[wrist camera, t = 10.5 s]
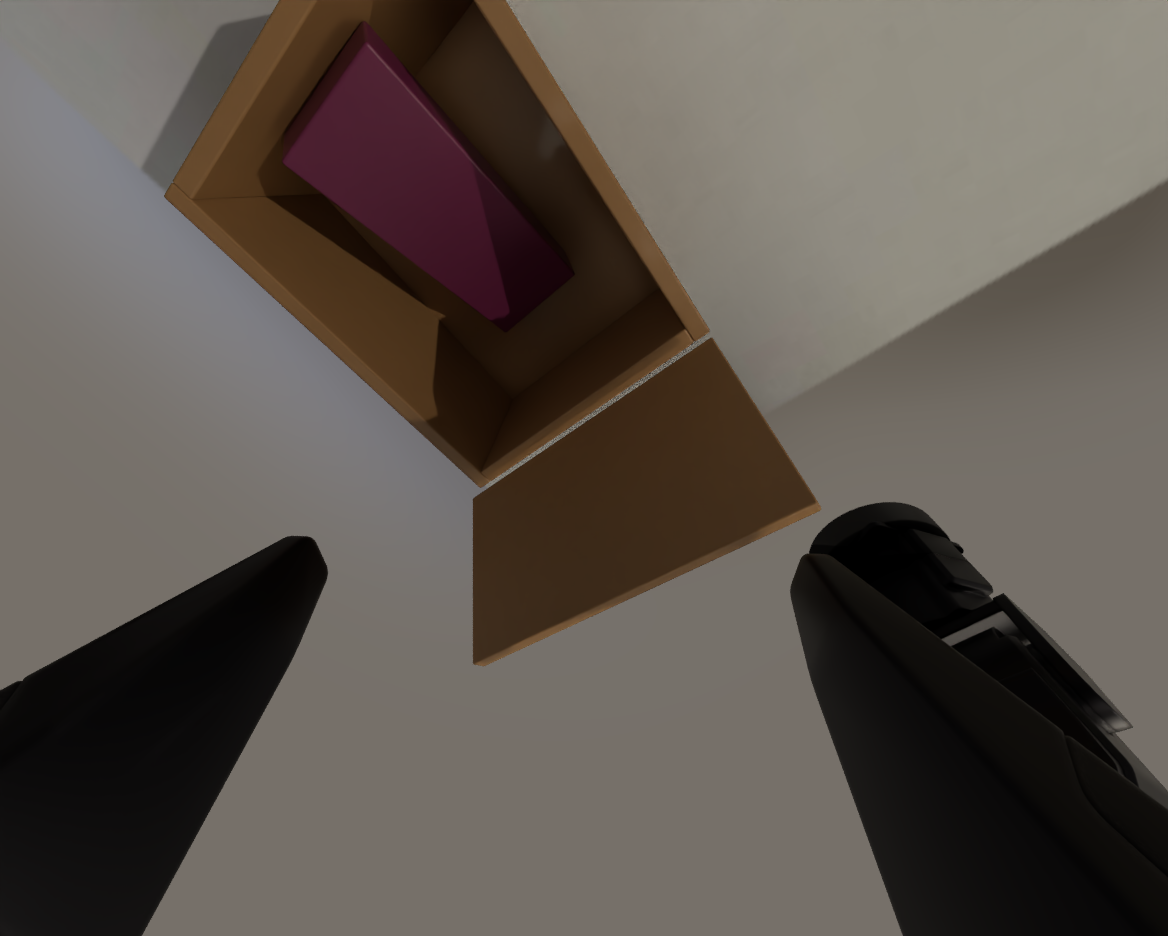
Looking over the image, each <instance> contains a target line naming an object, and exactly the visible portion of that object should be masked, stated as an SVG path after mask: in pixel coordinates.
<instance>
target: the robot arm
mask: <svg viewBox="0 0 1168 936" xmlns="http://www.w3.org/2000/svg"><path fill="white" fill-rule="evenodd" d="M875 529H876V530H875ZM963 552H964V550H963V548H962V547H961V546H960V545H959V544H957V543H955V542H952V541H949V540H948V539H947V538H944V537H941V536H937V535H933V534H930V533H926V532H922V531H919V530H915V529H904V528H900V527H897V526H893V525H890V524H886V523H882V522H879V521H874V522H871V523H869V524H867V525H866V526H865V527H864V529H863V530H862V531H861V532H860V533H859V534H858V536H857V537H856V538H855V539H854V540H853V541H852V542H851V544H850V545H849V546H848V547H847V548H846V549H845V551H844V552H843V553H842V554H841V555H840V556H839V558H838V559H837V560H836V559H834V558H833V557H831V556H829V555H826V554H805V555H804V556H802V558H801V560H800V562H799V565H798V567H797V570H796V573H795V576H794V578H793V581H792V584H791V589H790V593H791V600H792V604H793V609H794V612H795V617H796V621H797V625H798V629H799V633H800V637H801V642H802V646H803V650H804V654H805V658H806V662H807V666H808V670H809V673H810V677H811V681H812V684H813V687H814V690H815V693H816V696H817V699H818V701H819V704H820V707H821V710H822V713H823V715H824V718H825V721H826V724H827V726H828V729H829V732H830V735H831V738H832V740H833V743H834V746H835V749H836V751H837V754H838V757H839V760H840V762H841V765H842V768H843V770H844V774H845V776H846V779H847V782H848V785H849V787H850V790H851V793H852V796H853V799H854V801H855V804H856V807H857V810H858V812H859V815H860V818H861V821H862V823H863V826H864V829H865V832H866V834H867V837H868V840H869V843H870V846H871V848H872V851H873V854H874V857H875V860H876V862H877V865H878V868H879V871H880V873H881V876H882V879H883V882H884V884H885V887H886V890H887V893H888V896H889V898H890V901H891V904H892V907H893V910H894V912H895V915H896V918H897V921H898V923H899V926H900V929H901V932H902V934H903V936H1168V792H1167V790H1166V789H1165V788H1164V786H1163V785H1162V784H1161V783H1160V782H1159V781H1158V780H1157V779H1156V778H1155V777H1154V775H1153V774H1152V773H1151V772H1150V771H1149V770H1148V769H1147V768H1146V767H1145V766H1144V764H1143V763H1142V762H1141V761H1140V760H1139V759H1138V758H1137V757H1136V756H1135V755H1134V754H1133V752H1132V751H1131V750H1130V749H1129V748H1128V747H1127V746H1126V745H1125V743H1124V742H1123V741H1122V740H1121V739H1120V738H1119V737H1118V736H1117V735H1116V734H1115V733H1116V732H1120V731H1123V730H1127V729H1130V728H1133V726H1132V725H1131V724H1130V723H1129V721H1128V720H1127V719H1126V718H1125V717H1124V716H1123V715H1122V713H1121V712H1120V711H1119V710H1118V709H1117V708H1116V707H1115V706H1114V704H1113V703H1112V702H1111V701H1110V700H1109V699H1108V697H1107V696H1106V695H1105V694H1104V693H1103V692H1102V690H1100V688H1099V687H1098V686H1097V685H1096V684H1095V682H1094V681H1093V680H1092V679H1091V678H1090V677H1089V676H1088V674H1087V673H1086V672H1085V671H1084V670H1083V669H1082V668H1081V667H1080V666H1079V665H1078V664H1077V663H1076V662H1075V661H1074V660H1073V659H1072V658H1071V657H1070V656H1069V655H1068V654H1067V653H1066V652H1065V651H1064V650H1063V649H1062V648H1061V647H1060V646H1059V645H1058V644H1057V643H1056V642H1055V641H1054V640H1053V639H1052V638H1051V637H1050V636H1049V635H1048V634H1047V633H1046V632H1045V631H1044V630H1043V629H1042V628H1041V627H1040V626H1039V625H1038V624H1037V623H1035V622H1034V621H1033V620H1032V619H1031V618H1030V617H1029V616H1028V615H1027V614H1026V613H1024V612H1023V611H1022V610H1021V609H1020V608H1019V607H1018V606H1017V605H1016V604H1015V603H1014V602H1012V601H1011V600H1010V599H1009V598H1008V597H1007V596H1006V595H1004V593H1003V594H1001V595H999V596H996V597H994V598H993V600H992V599H991V598H990V597H989V595H990V594H991V593H993V589H992V586H991V585H990V583H989V582H988V581H987V580H986V579H985V578H984V577H983V576H982V575H981V574H980V573H979V572H978V571H977V570H976V569H975V568H974V567H973V566H972V565H971V563H970V562H969V561H968V560H967V559H966V558H965V557H964V556H963V555H962V554H963ZM327 575H328V570H327V565H326V563H325V561H324V559H323V557H322V555H321V552H320V550H319V548H318V546H317V544H316V542H315V540H313V539H312V538H311V537H307V536H289V537H285V538H283V539H281V540H280V541H278V542H276V543H274V544H272V545H270V546H269V547H267V548H265V549H263V550H261V551H259V552H257V553H255V554H254V555H252V556H250V557H248V558H246V559H244V560H242V561H240V562H239V563H237V564H235V565H233V566H231V567H229V568H228V569H226V570H224V571H222V572H220V573H218V574H216V575H214V576H213V577H211V578H209V579H207V580H205V581H203V582H201V583H200V584H198V585H196V586H194V587H192V588H190V589H188V590H186V591H185V592H183V593H181V594H179V595H177V596H175V597H174V598H172V599H170V600H168V601H166V602H164V603H162V604H161V605H159V606H157V607H155V608H153V609H151V610H149V611H147V612H146V613H144V614H142V615H140V616H138V617H136V618H134V619H133V620H131V621H129V622H127V623H125V624H123V625H122V626H119V627H118V628H116V629H114V630H112V631H110V632H108V633H107V634H105V635H103V636H101V637H99V638H97V639H95V640H93V641H92V642H90V643H88V644H86V645H84V646H82V647H80V648H79V649H77V650H75V651H73V652H72V653H69V654H68V655H66V656H64V657H62V658H60V659H58V660H56V661H54V662H53V663H51V664H49V665H47V666H45V667H43V668H42V669H39V670H38V671H36V672H34V673H32V674H30V675H28V676H27V677H25V678H24V679H23V681H17V682H15V683H13V684H11V685H9V686H8V687H6V688H4V689H2V690H0V936H142V934H143V933H144V931H145V929H146V927H147V925H148V923H149V922H150V920H151V918H152V916H153V914H154V912H155V911H156V909H157V907H158V905H159V903H160V901H161V900H162V898H163V896H164V894H165V892H166V890H167V889H168V887H169V885H170V883H171V881H172V879H173V878H174V875H175V874H176V872H177V870H178V868H179V867H180V865H181V863H182V861H183V859H184V857H185V856H186V854H187V852H188V850H189V848H190V846H191V845H192V843H193V841H194V839H195V837H196V835H197V834H198V832H199V830H200V828H201V826H202V824H203V822H204V821H205V818H206V817H207V815H208V813H209V812H210V810H211V807H212V806H213V804H214V802H215V800H216V799H217V797H218V795H219V793H220V791H221V789H222V788H223V786H224V784H225V782H226V780H227V778H228V777H229V775H230V773H231V771H232V769H233V767H234V765H235V764H236V762H237V760H238V758H239V756H240V755H241V753H242V751H243V749H244V747H245V745H246V744H247V742H248V740H249V738H250V736H251V734H252V733H253V731H254V729H255V727H256V725H257V723H258V722H259V720H260V718H261V716H262V714H263V712H264V711H265V709H266V707H267V705H268V703H269V701H270V700H271V698H272V696H273V694H274V692H275V690H276V688H277V687H278V685H279V683H280V681H281V679H282V678H283V676H284V674H285V672H286V670H287V668H288V666H289V665H290V663H291V661H292V658H293V657H294V655H295V652H296V650H297V648H298V646H299V644H300V642H301V639H302V637H303V634H304V632H305V630H306V627H307V625H308V623H309V620H310V618H311V616H312V613H313V611H314V608H315V606H316V603H317V601H318V599H319V597H320V594H321V592H322V590H323V587H324V585H325V583H326V580H327Z"/></svg>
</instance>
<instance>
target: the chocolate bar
mask: <svg viewBox="0 0 1168 936" xmlns="http://www.w3.org/2000/svg"><path fill="white" fill-rule="evenodd" d="M282 163H283V164H284V165H285V166H286V167H288V168H289V169H290V170H292V171H293V172H294V173H296V174H297V175H298V176H300V177H301V178H302V179H303V180H305V181H306V182H307V183H309V184H310V185H311V186H313V187H314V188H315V189H317V190H318V191H319V192H321V193H322V194H323V195H325V196H326V197H327V198H329V199H330V200H331V201H333V202H334V203H335V204H336V205H338V206H339V207H340V208H342V209H343V210H344V211H346V212H347V213H348V214H350V215H351V216H352V217H354V218H355V219H356V220H358V221H359V222H360V223H362V224H363V225H364V226H365V227H367V228H368V229H369V230H371V231H372V232H373V233H375V234H376V235H377V236H379V237H380V238H381V239H383V240H384V241H385V242H387V243H388V244H389V245H391V246H392V247H393V248H395V249H396V250H397V251H398V252H400V253H401V254H402V255H404V256H405V257H406V258H408V259H409V260H410V261H412V262H413V263H414V264H416V265H417V266H418V267H420V268H421V269H422V270H424V271H425V272H426V273H427V274H429V275H430V276H431V277H433V278H434V279H435V280H437V281H438V282H439V283H441V284H442V285H443V286H445V287H446V288H447V289H449V290H450V291H451V292H453V293H454V294H455V295H456V296H458V297H459V298H460V299H462V300H463V301H464V302H466V303H467V304H468V305H470V306H471V307H472V308H474V309H475V310H476V311H478V312H479V313H480V314H482V315H483V316H484V317H486V318H487V319H488V320H489V321H491V322H492V323H493V324H495V325H496V326H497V327H499V328H500V329H501V330H503V331H504V332H508V331H509V330H510V329H511V328H512V327H514V326H515V325H516V324H517V323H518V322H520V321H521V320H522V319H523V318H524V317H525V316H527V315H528V314H529V313H530V312H531V311H533V310H534V309H535V308H536V307H537V306H538V305H540V304H541V303H542V302H543V301H544V300H546V299H547V298H548V297H549V296H550V295H551V294H553V293H554V292H555V291H556V290H557V289H559V288H560V287H561V286H562V285H563V284H564V283H566V282H567V281H568V280H569V279H570V278H572V277H573V276H574V275H575V273H574V270H573V268H572V266H571V264H570V262H569V259H568V257H567V255H566V253H565V251H564V249H563V248H562V247H561V246H560V245H559V244H558V243H557V241H556V240H555V239H554V238H553V237H552V236H551V234H550V233H549V232H548V231H547V230H546V229H545V227H544V226H543V225H542V224H541V223H540V222H539V221H538V219H537V218H536V217H535V216H534V215H533V214H532V212H531V211H530V210H529V209H528V208H527V207H526V206H525V204H524V203H523V202H522V201H521V200H520V199H519V197H518V196H517V195H516V194H515V193H514V192H513V191H512V189H511V188H510V187H509V186H508V185H507V184H506V182H505V181H504V180H503V179H502V178H501V177H500V176H499V174H498V173H497V172H496V171H495V170H494V169H493V167H492V166H491V165H490V164H489V163H488V162H487V161H486V159H485V158H484V157H483V156H482V155H481V154H480V152H479V151H478V150H477V149H476V148H475V147H474V146H473V144H472V143H471V142H470V141H469V140H468V139H467V137H466V136H465V135H464V134H463V133H462V132H461V130H460V129H459V128H458V127H457V126H456V125H455V124H454V122H453V121H452V120H451V119H450V118H449V117H448V115H447V114H446V113H445V112H444V111H443V110H442V109H441V107H440V106H439V105H438V104H437V103H436V102H435V100H434V99H433V98H432V97H431V96H430V95H429V94H428V92H427V91H426V90H425V89H424V88H423V87H422V85H421V84H420V83H419V82H418V81H417V80H416V79H415V77H414V76H413V75H412V74H411V73H410V72H409V70H408V69H407V68H406V67H405V66H404V65H403V64H402V62H401V61H400V60H399V59H398V58H397V57H396V55H395V54H394V53H393V52H392V51H391V50H390V49H389V47H388V46H387V45H386V44H385V43H384V42H383V40H382V39H381V38H380V37H379V36H378V35H377V33H376V32H375V31H374V30H373V29H372V28H371V27H370V25H369V24H368V23H367V22H365V21H363V22H361V24H360V25H359V26H358V28H357V29H356V31H355V32H354V34H353V35H352V37H351V38H350V40H349V41H348V43H347V44H346V46H345V47H344V48H343V50H342V51H341V53H340V54H339V56H338V57H337V59H336V60H335V62H334V63H333V65H332V66H331V67H330V69H329V70H328V72H327V73H326V75H325V76H324V78H323V79H322V81H321V82H320V84H319V85H318V86H317V88H316V89H315V91H314V92H313V94H312V95H311V97H310V98H309V100H308V101H307V103H306V104H305V106H304V107H303V108H302V110H301V111H300V113H299V114H298V116H297V117H296V119H295V120H294V122H293V123H292V125H291V126H290V127H289V129H288V130H287V132H286V133H285V136H284V146H283V156H282Z"/></svg>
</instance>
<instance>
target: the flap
mask: <svg viewBox="0 0 1168 936" xmlns="http://www.w3.org/2000/svg"><path fill="white" fill-rule="evenodd" d="M820 510H821V506H820V505H819V503H818V501H817V500H816V498H815V497H814V495H813V494H812V492H811V490H810V489H809V487H808V486H807V485H806V483H805V481H804V480H803V478H802V476H801V475H800V473H799V472H798V470H797V469H796V467H795V466H794V464H793V462H792V461H791V460H790V458H789V456H788V455H787V453H786V452H785V450H784V448H783V447H782V445H781V444H780V442H779V441H778V439H777V438H776V436H775V435H774V433H773V431H772V430H771V428H770V427H769V425H768V423H767V422H766V420H765V419H764V417H763V416H762V414H761V413H760V411H759V409H758V408H757V406H756V405H755V403H754V402H753V400H752V399H751V397H750V395H749V394H748V392H747V391H746V389H745V388H744V386H743V385H742V383H741V381H740V380H739V378H738V377H737V375H736V374H735V372H734V370H733V369H732V367H731V366H730V364H729V363H728V361H727V360H726V358H725V356H724V355H723V353H722V352H721V350H720V349H719V347H718V346H717V344H716V342H715V341H714V339H713V338H710V339H708V340H707V341H705V342H704V343H702V344H701V345H699V346H698V347H696V348H695V349H693V350H692V351H691V352H689V353H688V354H686V355H685V356H683V357H682V358H680V359H679V360H677V361H676V362H674V363H673V364H671V365H670V366H668V367H667V368H665V369H664V370H662V371H661V372H659V373H658V374H657V375H655V376H654V377H652V378H651V379H649V380H648V381H646V382H645V383H643V384H642V385H640V386H639V387H637V388H636V389H634V390H633V391H631V392H630V393H628V394H627V395H625V396H624V397H622V398H621V399H620V400H618V401H617V402H615V403H614V404H612V405H611V406H609V407H608V408H606V409H605V410H603V411H602V412H600V413H599V414H597V415H596V416H594V417H593V418H591V419H590V420H588V421H587V422H585V423H584V424H583V425H581V426H580V427H578V428H577V429H575V430H574V431H572V432H571V433H569V434H568V435H566V436H565V437H563V438H562V439H560V440H559V441H557V442H556V443H554V444H553V445H551V446H550V447H548V448H547V449H546V450H544V451H543V452H541V453H540V454H538V455H537V456H535V457H534V458H532V459H531V460H529V461H528V462H526V463H525V464H523V465H522V466H520V467H519V468H517V469H516V470H514V471H513V472H511V473H510V474H509V475H507V476H506V477H504V478H503V479H501V480H500V481H498V482H497V483H495V484H494V485H492V486H491V487H489V488H488V489H486V490H485V491H484V492H482V493H480V494H479V495H477V496H476V497H475V498H474V499H473V664H474V665H480V666H486V665H488V664H490V663H492V662H494V661H497V660H499V659H501V658H503V657H505V656H507V655H509V654H512V653H514V652H516V651H518V650H520V649H522V648H525V647H527V646H529V645H531V644H533V643H535V642H538V641H540V640H542V639H544V638H546V637H548V636H550V635H552V634H555V633H557V632H559V631H561V630H564V629H566V628H568V627H570V626H572V625H574V624H576V623H578V622H581V621H583V620H585V619H587V618H589V617H592V616H593V615H596V614H598V613H600V612H602V611H605V610H607V609H609V608H611V607H613V606H615V605H618V604H620V603H622V602H624V601H626V600H628V599H630V598H633V597H635V596H637V595H639V594H641V593H643V592H646V591H648V590H650V589H652V588H654V587H656V586H659V585H661V584H663V583H665V582H667V581H669V580H672V579H674V578H676V577H678V576H680V575H682V574H684V573H686V572H689V571H691V570H693V569H695V568H697V567H700V566H702V565H704V564H706V563H708V562H710V561H713V560H715V559H717V558H719V557H721V556H723V555H725V554H728V553H730V552H732V551H734V550H736V549H738V548H741V547H743V546H745V545H747V544H749V543H751V542H754V541H756V540H758V539H760V538H762V537H764V536H767V535H768V534H771V533H773V532H775V531H777V530H779V529H782V528H784V527H786V526H788V525H790V524H792V523H795V522H797V521H799V520H801V519H803V518H805V517H807V516H810V515H812V514H814V513H816V512H818V511H820Z"/></svg>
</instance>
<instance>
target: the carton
mask: <svg viewBox="0 0 1168 936" xmlns="http://www.w3.org/2000/svg"><path fill="white" fill-rule="evenodd" d="M363 21H365V22H367V23H368V24H369V25H370V27H371V28H372V29H373V30H374V31H375V32H376V33H377V35H378V36H379V37H380V38H381V39H382V40H383V42H384V43H385V44H386V45H387V46H388V47H389V49H390V50H391V51H392V52H393V53H394V54H395V55H396V57H397V58H398V59H399V60H400V61H401V62H402V64H403V65H404V66H405V67H406V68H407V69H408V70H409V72H410V73H411V74H412V75H413V76H414V77H415V79H416V80H417V81H418V82H419V83H420V84H421V85H422V87H423V88H424V89H425V90H426V91H427V92H428V94H429V95H430V96H431V97H432V98H433V99H434V100H435V102H436V103H437V104H438V105H439V106H440V107H441V109H442V110H443V111H444V112H445V113H446V114H447V115H448V117H449V118H450V119H451V120H452V121H453V122H454V124H455V125H456V126H457V127H458V128H459V129H460V130H461V132H462V133H463V134H464V135H465V136H466V137H467V139H468V140H469V141H470V142H471V143H472V144H473V146H474V147H475V148H476V149H477V150H478V151H479V152H480V154H481V155H482V156H483V157H484V158H485V159H486V161H487V162H488V163H489V164H490V165H491V166H492V167H493V169H494V170H495V171H496V172H497V173H498V174H499V176H500V177H501V178H502V179H503V180H504V181H505V182H506V184H507V185H508V186H509V187H510V188H511V189H512V191H513V192H514V193H515V194H516V195H517V196H518V197H519V199H520V200H521V201H522V202H523V203H524V204H525V206H526V207H527V208H528V209H529V210H530V211H531V212H532V214H533V215H534V216H535V217H536V218H537V219H538V221H539V222H540V223H541V224H542V225H543V226H544V227H545V229H546V230H547V231H548V232H549V233H550V234H551V236H552V237H553V238H554V239H555V240H556V241H557V243H558V244H559V245H560V246H561V247H562V248H563V249H564V251H565V253H566V255H567V257H568V259H569V262H570V264H571V266H572V268H573V270H574V273H575V275H574V276H573V277H572V278H570V279H569V280H568V281H567V282H566V283H564V284H563V285H562V286H561V287H560V288H559V289H557V290H556V291H555V292H554V293H553V294H551V295H550V296H549V297H548V298H547V299H546V300H544V301H543V302H542V303H541V304H540V305H538V306H537V307H536V308H535V309H534V310H533V311H531V312H530V313H529V314H528V315H527V316H525V317H524V318H523V319H522V320H521V321H520V322H518V323H517V324H516V325H515V326H514V327H512V328H511V329H510V330H509V331H508V332H504V331H503V330H501V329H500V328H499V327H497V326H496V325H495V324H493V323H492V322H491V321H489V320H488V319H487V318H486V317H484V316H483V315H482V314H480V313H479V312H478V311H476V310H475V309H474V308H472V307H471V306H470V305H468V304H467V303H466V302H464V301H463V300H462V299H460V298H459V297H458V296H456V295H455V294H454V293H453V292H451V291H450V290H449V289H447V288H446V287H445V286H443V285H442V284H441V283H439V282H438V281H437V280H435V279H434V278H433V277H431V276H430V275H429V274H427V273H426V272H425V271H424V270H422V269H421V268H420V267H418V266H417V265H416V264H414V263H413V262H412V261H410V260H409V259H408V258H406V257H405V256H404V255H402V254H401V253H400V252H398V251H397V250H396V249H395V248H393V247H392V246H391V245H389V244H388V243H387V242H385V241H384V240H383V239H381V238H380V237H379V236H377V235H376V234H375V233H373V232H372V231H371V230H369V229H368V228H367V227H365V226H364V225H363V224H362V223H360V222H359V221H358V220H356V219H355V218H354V217H352V216H351V215H350V214H348V213H347V212H346V211H344V210H343V209H342V208H340V207H339V206H338V205H336V204H335V203H334V202H333V201H331V200H330V199H329V198H327V197H326V196H325V195H323V194H322V193H321V192H319V191H318V190H317V189H315V188H314V187H313V186H311V185H310V184H309V183H307V182H306V181H305V180H303V179H302V178H301V177H300V176H298V175H297V174H296V173H294V172H293V171H292V170H290V169H289V168H288V167H286V166H285V165H284V164H283V163H282V156H283V146H284V136H285V133H286V132H287V130H288V129H289V127H290V126H291V125H292V123H293V122H294V120H295V119H296V117H297V116H298V114H299V113H300V111H301V110H302V108H303V107H304V106H305V104H306V103H307V101H308V100H309V98H310V97H311V95H312V94H313V92H314V91H315V89H316V88H317V86H318V85H319V84H320V82H321V81H322V79H323V78H324V76H325V75H326V73H327V72H328V70H329V69H330V67H331V66H332V65H333V63H334V62H335V60H336V59H337V57H338V56H339V54H340V53H341V51H342V50H343V48H344V47H345V46H346V44H347V43H348V41H349V40H350V38H351V37H352V35H353V34H354V32H355V31H356V29H357V28H358V26H359V25H360V24H361V22H363ZM173 182H174V183H171V185H170V186H169V188H168V190H167V191H166V193H165V195H164V197H165V198H166V199H167V200H168V201H169V202H170V203H171V204H172V205H173V206H174V207H175V208H177V209H178V210H179V211H180V212H181V213H182V214H183V215H184V216H185V217H186V218H187V219H189V220H190V221H191V222H192V223H193V224H194V225H195V226H196V227H197V228H198V229H200V230H201V231H202V232H203V233H204V234H205V235H206V236H207V237H208V238H209V239H210V240H211V241H213V243H215V244H216V245H217V246H218V247H219V248H220V249H221V250H222V251H223V252H224V253H225V254H227V255H228V256H229V257H230V258H231V259H232V260H233V261H234V262H235V263H236V264H237V265H239V266H240V267H241V268H242V269H243V270H244V271H245V272H246V273H247V274H248V275H249V276H251V277H252V278H253V279H254V280H255V281H256V282H257V283H258V284H259V285H260V286H261V287H262V288H264V289H265V290H266V291H267V292H268V293H269V294H270V295H271V296H272V297H273V298H274V299H275V300H277V301H278V302H279V303H280V304H281V305H282V306H283V307H284V308H285V309H286V310H288V312H290V313H291V314H292V315H293V316H294V317H295V318H296V319H297V320H298V321H299V322H300V323H302V324H303V325H304V326H305V327H306V328H307V329H308V330H309V331H310V332H311V333H312V334H314V335H315V336H316V337H317V338H318V339H319V340H320V341H321V342H322V343H323V344H324V345H326V346H327V347H328V348H329V349H330V350H331V351H332V352H333V353H334V354H335V355H336V356H338V357H339V358H340V359H341V360H342V361H343V362H344V363H345V364H346V365H347V366H348V367H349V368H350V369H351V370H353V371H354V372H355V373H356V374H357V375H358V376H359V377H360V378H361V379H363V381H365V382H366V383H367V384H368V385H369V386H370V387H371V388H372V389H373V390H374V391H375V392H376V393H378V394H379V395H380V396H381V397H382V398H383V399H384V400H385V401H386V402H387V403H388V404H390V405H391V406H392V407H393V408H394V409H395V410H396V411H397V412H398V413H399V414H400V415H401V416H403V417H404V418H405V419H406V420H407V421H408V422H409V423H410V424H411V425H412V426H414V427H415V428H416V429H417V430H418V431H419V432H420V433H421V434H422V435H423V436H424V437H425V438H427V439H428V440H429V441H430V442H431V443H432V444H433V445H434V446H435V447H436V448H437V449H439V450H440V451H441V452H442V453H443V454H444V455H445V456H446V457H447V458H448V459H449V460H450V461H452V462H453V463H454V464H455V465H456V466H457V467H458V468H459V469H460V470H461V471H462V472H463V473H464V474H466V475H467V476H468V477H469V478H470V479H471V480H472V481H473V482H474V483H475V484H476V485H478V486H479V487H480V488H481V487H483V486H484V485H486V484H487V483H489V482H490V481H492V480H493V479H495V478H496V477H498V476H499V475H501V474H502V473H504V472H505V471H506V470H508V469H509V468H511V467H512V466H514V465H515V464H517V463H518V462H520V461H521V460H523V459H524V458H526V457H527V456H528V455H530V454H531V453H533V452H534V451H536V450H537V449H539V448H540V447H542V446H543V445H545V444H546V443H548V442H549V441H550V440H552V439H553V438H555V437H556V436H558V435H559V434H561V433H562V432H564V431H565V430H567V429H568V428H569V427H571V426H572V425H574V424H575V423H577V422H578V421H580V420H581V419H583V418H584V417H586V416H587V415H589V414H590V413H591V412H593V411H594V410H596V409H597V408H599V407H600V406H602V405H603V404H605V403H606V402H608V401H609V400H611V399H612V398H613V397H615V396H616V395H618V394H619V393H621V392H622V391H624V390H625V389H627V388H628V387H630V386H631V385H633V384H634V383H635V382H637V381H638V380H640V379H641V378H643V377H644V376H646V375H647V374H649V373H650V372H652V371H653V370H655V369H656V368H657V367H659V366H660V365H662V364H663V363H665V362H666V361H668V360H669V359H671V358H672V357H674V356H675V355H677V354H678V353H679V352H681V351H682V350H684V349H685V348H687V347H688V346H690V345H691V344H693V341H697V340H698V339H700V338H701V337H703V336H704V335H706V334H707V333H709V328H708V327H707V325H706V323H705V322H704V320H703V318H702V317H701V315H700V314H699V312H698V310H697V309H696V307H695V306H694V304H693V302H692V301H691V299H690V297H689V296H688V294H687V293H686V291H685V289H684V288H683V286H682V285H681V283H680V281H679V280H678V278H677V276H676V275H675V273H674V272H673V270H672V268H671V267H670V265H669V264H668V262H667V260H666V259H665V257H664V255H663V254H662V252H661V251H660V249H659V247H658V246H657V244H656V243H655V241H654V239H653V238H652V236H651V234H650V233H649V231H648V230H647V228H646V226H645V225H644V223H643V222H642V220H641V218H640V217H639V215H638V213H637V212H636V210H635V209H634V207H633V205H632V204H631V202H630V201H629V199H628V197H627V196H626V194H625V192H624V191H623V189H622V188H621V186H620V184H619V183H618V181H617V180H616V178H615V176H614V175H613V173H612V171H611V170H610V168H609V167H608V165H607V163H606V162H605V160H604V159H603V157H602V155H601V154H600V152H599V150H598V149H597V147H596V146H595V144H594V142H593V141H592V139H591V138H590V136H589V134H588V133H587V131H586V129H585V128H584V126H583V125H582V123H581V121H580V120H579V118H578V117H577V115H576V113H575V112H574V110H573V108H572V107H571V105H570V104H569V102H568V100H567V99H566V97H565V96H564V94H563V92H562V91H561V89H560V87H559V86H558V84H557V83H556V81H555V79H554V78H553V76H552V75H551V73H550V71H549V70H548V68H547V66H546V65H545V63H544V62H543V60H542V58H541V57H540V55H539V54H538V52H537V50H536V49H535V47H534V45H533V44H532V42H531V41H530V39H529V37H528V36H527V34H526V33H525V31H524V29H523V28H522V26H521V24H520V23H519V21H518V20H517V18H516V16H515V15H514V13H513V12H512V10H511V8H510V7H509V5H508V3H507V2H506V0H279V2H278V4H277V5H276V7H275V9H274V10H273V12H272V14H271V15H270V17H269V19H268V20H267V22H266V24H265V26H264V27H263V29H262V31H261V32H260V34H259V36H258V37H257V39H256V41H255V42H254V44H253V46H252V48H251V49H250V51H249V53H248V54H247V56H246V58H245V59H244V61H243V63H242V64H241V66H240V68H239V70H238V71H237V73H236V75H235V76H234V78H233V80H232V81H231V83H230V85H229V86H228V88H227V90H226V92H225V93H224V95H223V97H222V98H221V100H220V102H219V103H218V105H217V107H216V108H215V110H214V112H213V114H212V115H211V117H210V119H209V120H208V122H207V124H206V125H205V127H204V129H203V130H202V132H201V134H200V136H199V137H198V139H197V141H196V142H195V144H194V146H193V147H192V149H191V151H190V152H189V154H188V156H187V158H186V159H185V161H184V163H183V164H182V166H181V168H180V169H179V171H178V173H177V175H176V176H175V178H174V180H173Z"/></svg>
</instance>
